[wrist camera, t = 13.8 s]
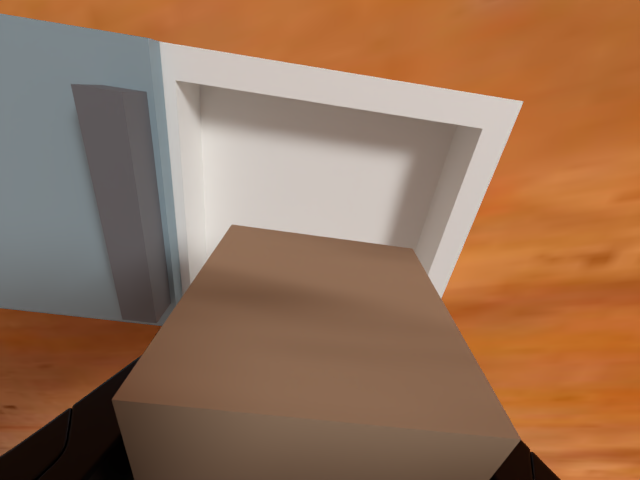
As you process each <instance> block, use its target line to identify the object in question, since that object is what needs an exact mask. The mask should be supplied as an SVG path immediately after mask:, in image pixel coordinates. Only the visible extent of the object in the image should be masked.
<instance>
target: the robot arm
mask: <svg viewBox="0 0 640 480" xmlns="http://www.w3.org/2000/svg"><path fill="white" fill-rule="evenodd" d="M141 356H142V355H141ZM141 356H140V357H139V358H137V359H136V360H134V361H133V362H132V363H130V364H129V365H128V366H126V367H125V368H124V369H122V370H121V371H119V372H118V373H117V374H115V375H114V376H113V377H111V378H110V379H108V380H107V381H106V382H104V383H103V384H102V385H100V386H99V387H97V388H96V389H95V390H93V391H92V392H91V393H89V394H88V395H87V396H85V397H84V398H82V399H81V400H80V401H78V402H77V403H76V404H74V405H73V407H72V408H69V409H67V410H66V411H64V412H63V413H62V414H60V415H59V416H58V417H56V418H55V419H53V420H52V421H51V422H49V423H48V424H46V425H45V426H44V427H42V428H41V429H39V430H38V431H37V432H35V433H34V434H32V435H31V436H29V437H28V438H27V439H25V440H24V441H22V442H21V443H20V444H18V445H17V446H15V447H14V448H12V449H11V450H9V451H8V452H6V453H5V454H3V455H2V456H0V480H134V477H133V473H132V470H131V466H130V463H129V459H128V456H127V452H126V449H125V445H124V442H123V438H122V434H121V431H120V427H119V424H118V420H117V417H116V413H115V410H114V406H113V403H112V398H113V397H114V395H115V394H116V393H117V391H118V390H119V388H120V387H121V385H122V384H123V382H124V381H125V379H126V378H127V377H128V375H129V374H130V372H131V371H132V369H133V368H134V366H135V365H136V363H137V362H138V360H139V359H140V358H141ZM490 480H560V479H559V478H558V477H557V476H556V475H555V474H554V473H553V472H552V471H551V470H550V469H549V468H548V467H547V466H546V465H545V464H544V463H543V462H542V461H541V460H540V459H539V458H538V457H537V455H536V454H535V453H533V452H530V449H529V448H528V446H527V445H526V444H525V443H524V442H523V441H522V440H520V442H519V443H518V444H517V445H516V447H515V448H514V449H513V450H512V452H511V453H510V454H509V456H508V457H507V458H506V459H505V461H504V462H503V463H502V464H501V466H500V467H499V468H498V469H497V471H496V472H495V473H494V474H493V476H492V477H491V478H490Z"/></svg>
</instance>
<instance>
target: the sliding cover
mask: <svg viewBox="0 0 640 480" xmlns="http://www.w3.org/2000/svg"><path fill="white" fill-rule="evenodd" d="M182 296H183V295H182V284H181V273H180V262H179V251H178V240H177V229H176V218H175V207H174V196H173V185H172V174H171V163H170V152H169V142H168V131H167V120H166V109H165V98H164V87H163V76H162V65H161V54H160V43H159V41H156V40H153V39H149V38H144V37H138V36H132V35H126V34H120V33H114V32H108V31H102V30H96V29H90V28H84V27H78V26H72V25H66V24H60V23H54V22H47V21H41V20H35V19H29V18H23V17H17V16H11V15H5V14H0V308H4V309H13V310H22V311H31V312H40V313H50V314H59V315H68V316H77V317H86V318H95V319H104V320H113V321H122V322H131V323H140V324H149V325H158V326H162V325H163V324H164V323H165V321H166V320H167V318H168V317H169V315H170V314H171V312H172V311H173V309H174V308H175V307H176V305H177V304H178V302H179V301H180V299H181V298H182Z"/></svg>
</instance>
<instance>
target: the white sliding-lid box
mask: <svg viewBox="0 0 640 480" xmlns="http://www.w3.org/2000/svg"><path fill="white" fill-rule="evenodd" d="M159 43H160V54H161V65H162V76H163V87H164V98H165V109H166V120H167V131H168V142H169V152H170V163H171V174H172V185H173V196H174V207H175V218H176V229H177V240H178V251H179V262H180V273H181V284H182V295H184V293H185V292H186V290H187V289H188V288H189V286H190V285H191V283H192V282H193V280H194V279H195V277H196V276H197V274H198V273H199V271H200V270H201V269H202V267H203V266H204V264H205V263H206V261H207V260H208V258H209V257H210V255H211V254H212V253H213V251H214V250H215V248H216V247H217V245H218V244H219V242H220V241H221V239H222V238H223V236H224V235H225V234H226V232H227V231H228V229H229V228H230V226H231V225H240V226H247V227H255V228H262V229H270V230H277V231H285V232H292V233H300V234H307V235H315V236H322V237H330V238H337V239H345V240H352V241H360V242H367V243H375V244H382V245H390V246H397V247H405V248H412V249H413V250H414V252H415V254H416V255H417V257H418V259H419V261H420V262H421V264H422V266H423V268H424V270H425V271H426V273H427V275H428V277H429V278H430V280H431V282H432V284H433V285H434V287H435V289H436V291H437V292H438V294H439V296H440V298H442V295H443V293H444V291H445V288H446V286H447V283H448V281H449V279H450V276H451V274H452V272H453V269H454V267H455V264H456V262H457V260H458V257H459V255H460V252H461V250H462V248H463V245H464V243H465V240H466V238H467V236H468V233H469V231H470V228H471V226H472V224H473V221H474V219H475V216H476V214H477V212H478V209H479V207H480V204H481V202H482V200H483V197H484V195H485V193H486V190H487V188H488V185H489V183H490V181H491V178H492V176H493V173H494V171H495V169H496V166H497V164H498V161H499V159H500V157H501V154H502V152H503V149H504V147H505V145H506V142H507V140H508V137H509V135H510V133H511V130H512V128H513V125H514V123H515V121H516V118H517V116H518V114H519V111H520V109H521V106H522V104H523V101H517V100H511V99H505V98H499V97H493V96H487V95H481V94H475V93H468V92H462V91H456V90H450V89H444V88H438V87H432V86H426V85H420V84H414V83H408V82H402V81H396V80H390V79H383V78H377V77H371V76H365V75H359V74H353V73H347V72H341V71H335V70H329V69H323V68H317V67H311V66H305V65H298V64H292V63H286V62H280V61H274V60H268V59H262V58H256V57H250V56H244V55H238V54H232V53H226V52H220V51H213V50H207V49H201V48H195V47H189V46H183V45H177V44H171V43H165V42H159Z"/></svg>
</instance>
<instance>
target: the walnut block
mask: <svg viewBox="0 0 640 480" xmlns="http://www.w3.org/2000/svg"><path fill="white" fill-rule="evenodd" d="M112 403H113V406H114V410H115V413H116V417H117V420H118V424H119V427H120V431H121V434H122V438H123V442H124V445H125V449H126V452H127V456H128V459H129V463H130V466H131V470H132V473H133V477H134V480H490V478H491V477H492V476H493V474H494V473H495V472H496V471H497V469H498V468H499V467H500V466H501V464H502V463H503V462H504V461H505V459H506V458H507V457H508V456H509V454H510V453H511V452H512V450H513V449H514V448H515V447H516V445H517V444H518V443H519V442H520V440H521V438H520V437H519V435H518V433H517V431H516V430H515V428H514V426H513V424H512V423H511V421H510V419H509V417H508V416H507V414H506V412H505V410H504V409H503V407H502V405H501V403H500V401H499V400H498V398H497V396H496V394H495V393H494V391H493V389H492V387H491V386H490V384H489V382H488V380H487V379H486V377H485V375H484V373H483V372H482V370H481V368H480V366H479V365H478V363H477V361H476V359H475V357H474V356H473V354H472V352H471V350H470V349H469V347H468V345H467V343H466V342H465V340H464V338H463V336H462V335H461V333H460V331H459V329H458V328H457V326H456V324H455V322H454V321H453V319H452V317H451V315H450V314H449V312H448V310H447V308H446V306H445V305H444V303H443V301H442V299H441V298H440V296H439V294H438V292H437V291H436V289H435V287H434V285H433V284H432V282H431V280H430V278H429V277H428V275H427V273H426V271H425V270H424V268H423V266H422V264H421V262H420V261H419V259H418V257H417V255H416V254H415V252H414V250H413V249H412V248H405V247H397V246H390V245H382V244H375V243H367V242H360V241H352V240H345V239H337V238H330V237H322V236H315V235H307V234H300V233H292V232H285V231H277V230H270V229H262V228H255V227H247V226H240V225H231V226H230V228H229V229H228V231H227V232H226V234H225V235H224V236H223V238H222V239H221V241H220V242H219V244H218V245H217V247H216V248H215V250H214V251H213V253H212V254H211V255H210V257H209V258H208V260H207V261H206V263H205V264H204V266H203V267H202V269H201V270H200V271H199V273H198V274H197V276H196V277H195V279H194V280H193V282H192V283H191V285H190V286H189V288H188V289H187V290H186V292H185V293H184V295H183V296H182V298H181V299H180V301H179V302H178V304H177V305H176V307H175V308H174V309H173V311H172V312H171V314H170V315H169V317H168V318H167V320H166V321H165V323H164V324H163V325H162V327H161V328H160V330H159V331H158V333H157V334H156V336H155V337H154V339H153V340H152V342H151V343H150V344H149V346H148V347H147V349H146V350H145V352H144V353H143V355H142V356H141V358H140V359H139V360H138V362H137V363H136V365H135V366H134V368H133V369H132V371H131V372H130V374H129V375H128V377H127V378H126V379H125V381H124V382H123V384H122V385H121V387H120V388H119V390H118V391H117V393H116V394H115V395H114V397H113V398H112Z"/></svg>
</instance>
